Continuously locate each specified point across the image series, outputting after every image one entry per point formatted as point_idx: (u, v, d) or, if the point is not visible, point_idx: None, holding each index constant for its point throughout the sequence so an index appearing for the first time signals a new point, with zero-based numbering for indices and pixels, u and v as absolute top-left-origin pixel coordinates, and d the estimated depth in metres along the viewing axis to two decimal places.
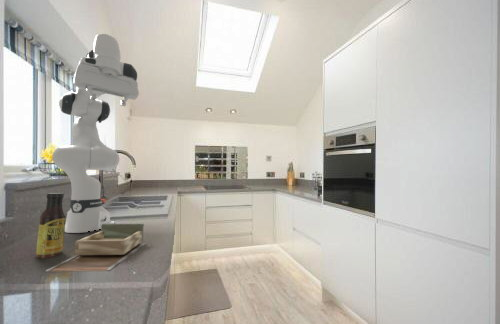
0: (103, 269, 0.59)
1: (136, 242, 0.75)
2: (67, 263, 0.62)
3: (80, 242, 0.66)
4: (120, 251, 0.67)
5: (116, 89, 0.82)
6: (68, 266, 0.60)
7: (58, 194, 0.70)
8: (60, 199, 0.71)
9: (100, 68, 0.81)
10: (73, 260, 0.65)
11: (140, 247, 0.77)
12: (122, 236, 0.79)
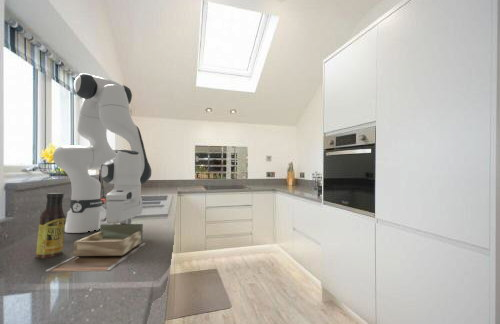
0: (103, 269, 0.59)
1: (135, 243, 0.75)
2: (67, 263, 0.62)
3: (78, 243, 0.66)
4: (119, 252, 0.66)
5: (134, 215, 0.85)
6: (68, 266, 0.60)
7: (57, 194, 0.70)
8: (60, 199, 0.71)
9: (130, 198, 0.80)
10: (73, 260, 0.65)
11: (140, 247, 0.77)
12: (121, 236, 0.79)
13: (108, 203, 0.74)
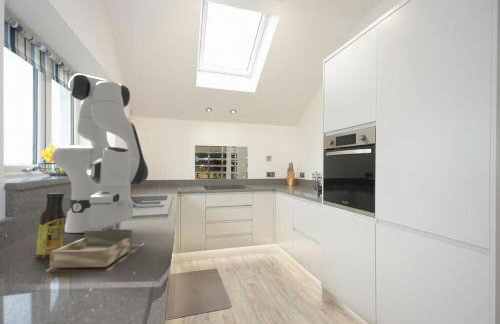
0: (103, 269, 0.59)
1: (122, 251, 0.66)
2: None
3: (56, 252, 0.57)
4: (102, 263, 0.58)
5: (122, 220, 0.76)
6: None
7: (58, 194, 0.70)
8: (60, 199, 0.71)
9: None
10: None
11: (140, 247, 0.77)
12: (108, 244, 0.70)
13: (91, 207, 0.65)
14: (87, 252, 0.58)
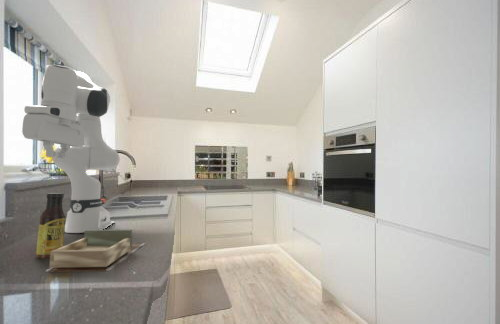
0: (103, 269, 0.59)
1: (122, 251, 0.66)
2: None
3: (56, 252, 0.57)
4: (102, 263, 0.58)
5: (68, 142, 0.74)
6: None
7: (58, 194, 0.70)
8: (60, 199, 0.71)
9: (59, 118, 0.69)
10: None
11: (140, 247, 0.77)
12: (108, 244, 0.70)
13: (26, 115, 0.63)
14: (87, 252, 0.58)
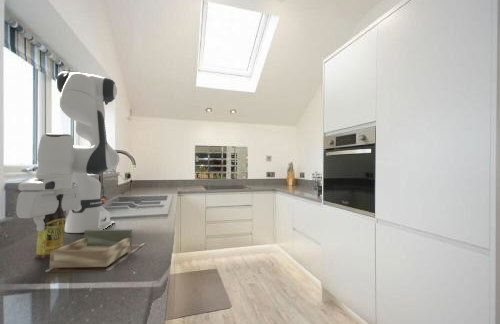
0: (103, 269, 0.59)
1: (122, 251, 0.66)
2: None
3: (56, 252, 0.57)
4: (102, 263, 0.58)
5: (64, 210, 0.72)
6: None
7: None
8: (60, 199, 0.71)
9: None
10: None
11: (140, 247, 0.77)
12: (108, 244, 0.70)
13: (20, 194, 0.61)
14: (87, 252, 0.58)
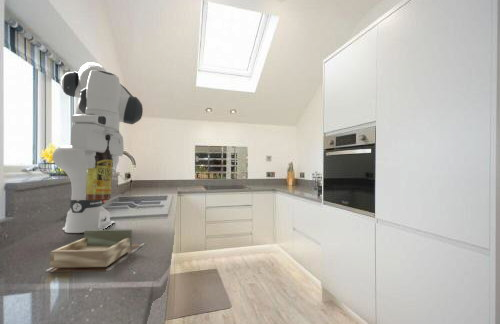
0: (103, 269, 0.59)
1: (122, 251, 0.66)
2: None
3: (56, 252, 0.57)
4: (102, 263, 0.58)
5: (111, 152, 0.70)
6: None
7: None
8: (108, 140, 0.68)
9: (104, 127, 0.65)
10: None
11: (140, 247, 0.77)
12: (108, 244, 0.70)
13: (74, 125, 0.59)
14: (87, 252, 0.58)
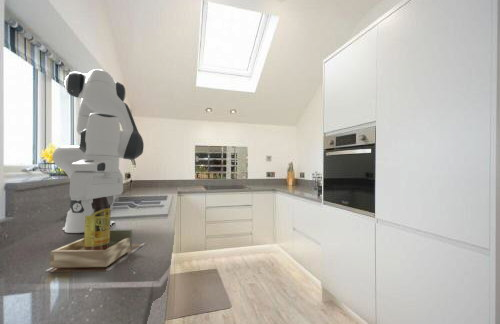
0: (103, 269, 0.59)
1: (122, 251, 0.66)
2: None
3: (56, 252, 0.57)
4: (102, 263, 0.58)
5: (110, 194, 0.69)
6: None
7: None
8: None
9: (104, 171, 0.64)
10: None
11: (140, 247, 0.77)
12: None
13: (73, 174, 0.58)
14: (87, 252, 0.58)
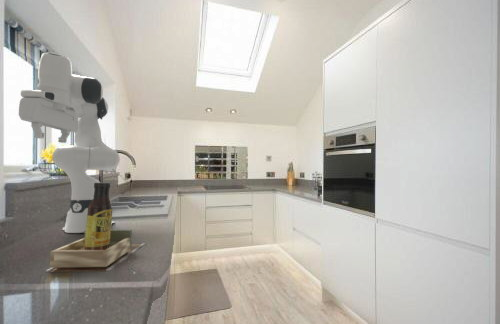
0: (103, 269, 0.59)
1: (122, 251, 0.66)
2: None
3: (56, 252, 0.57)
4: (102, 263, 0.58)
5: (62, 127, 0.78)
6: None
7: (105, 183, 0.66)
8: (107, 189, 0.67)
9: (54, 102, 0.73)
10: None
11: (140, 247, 0.77)
12: None
13: (22, 98, 0.67)
14: (87, 252, 0.58)
